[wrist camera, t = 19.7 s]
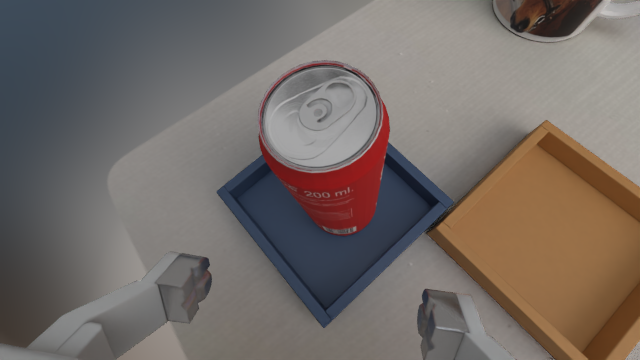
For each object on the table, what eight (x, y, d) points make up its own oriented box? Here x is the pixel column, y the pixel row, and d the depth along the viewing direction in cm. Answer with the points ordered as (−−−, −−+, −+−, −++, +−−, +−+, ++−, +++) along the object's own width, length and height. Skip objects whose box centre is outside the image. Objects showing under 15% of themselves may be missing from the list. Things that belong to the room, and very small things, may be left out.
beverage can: (386, 221, 25) (445, 140, 11) (315, 251, 24) (278, 208, 10) (357, 161, 27) (373, 26, 13) (290, 188, 26) (231, 80, 12)
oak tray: (573, 376, 21) (602, 389, 19) (426, 233, 25) (435, 227, 22) (678, 246, 23) (716, 242, 21) (528, 133, 27) (546, 119, 25)
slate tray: (325, 323, 23) (323, 328, 21) (226, 199, 27) (215, 191, 25) (443, 209, 25) (454, 201, 23) (336, 110, 29) (336, 94, 27)
